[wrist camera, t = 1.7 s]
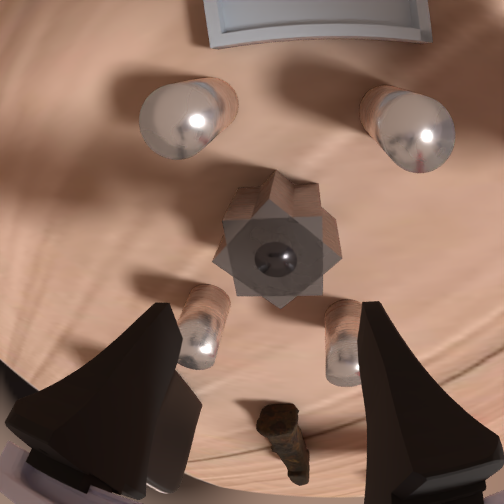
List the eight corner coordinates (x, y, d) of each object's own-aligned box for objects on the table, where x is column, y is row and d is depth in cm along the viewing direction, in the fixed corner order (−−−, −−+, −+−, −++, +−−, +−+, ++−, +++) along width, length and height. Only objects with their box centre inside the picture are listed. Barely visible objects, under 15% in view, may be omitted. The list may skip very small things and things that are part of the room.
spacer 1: (234, 73, 14) (206, 77, 10) (242, 128, 16) (219, 154, 11) (178, 83, 15) (132, 93, 10) (187, 135, 16) (147, 164, 12)
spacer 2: (226, 284, 21) (208, 339, 17) (233, 316, 23) (219, 371, 19) (185, 284, 22) (160, 336, 18) (195, 315, 24) (175, 367, 19)
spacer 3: (368, 298, 20) (379, 356, 16) (364, 329, 22) (371, 385, 18) (325, 300, 21) (326, 358, 17) (324, 330, 23) (324, 387, 18)
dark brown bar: (259, 400, 30) (252, 440, 26) (298, 400, 29) (295, 441, 25) (286, 460, 39) (283, 487, 36) (313, 460, 38) (311, 488, 35)
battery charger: (143, 365, 29) (100, 464, 19) (175, 365, 28) (135, 474, 18) (175, 403, 32) (146, 491, 23) (205, 404, 31) (178, 499, 22)
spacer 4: (413, 86, 13) (456, 98, 9) (414, 142, 14) (452, 174, 10) (357, 84, 13) (381, 92, 9) (360, 141, 15) (382, 172, 11)
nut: (334, 166, 16) (343, 196, 13) (335, 263, 19) (339, 308, 16) (219, 173, 17) (198, 203, 14) (236, 266, 21) (223, 309, 17)
